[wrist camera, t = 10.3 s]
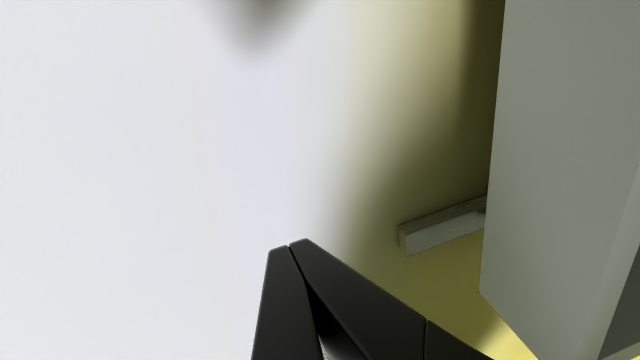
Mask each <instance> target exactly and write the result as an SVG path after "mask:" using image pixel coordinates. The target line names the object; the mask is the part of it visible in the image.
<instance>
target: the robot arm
mask: <svg viewBox="0 0 640 360" xmlns="http://www.w3.org/2000/svg"><path fill="white" fill-rule="evenodd" d="M320 342H321V344H322V346H323V348H324V351H325V353H326V355H327V357H328V358H329V360H494V359H492V358H490V357H488V356H486V355H485V354H483V353H481V352H479V351H478V350H476V349H474V348H472V347H470V346H469V345H467V344H466V343H464V342H462V341H461V340H459V339H458V338H456V337H454V336H453V335H451V334H450V333H448V332H446V331H445V330H443V329H442V328H440V327H439V326H437V325H436V324H435V323H433V322H432V321H430V320H427V321H426V318H425V317H424V316H422V315H421V314H419V313H418V312H416V311H415V310H413V309H412V308H410V307H409V306H407V305H406V304H404V303H403V302H401V301H400V300H398V299H397V298H395V297H394V296H392V295H391V294H390V293H388V292H387V291H385V290H384V289H382V288H381V287H379V286H378V285H376V284H375V283H373V282H372V281H370V280H369V279H367V278H366V277H364V276H363V275H361V274H360V273H358V272H357V271H355V270H354V269H352V268H351V267H349V266H348V265H346V264H345V263H343V262H342V261H340V260H339V259H337V258H336V257H334V256H333V255H331V254H330V253H328V252H327V251H325V250H324V249H322V248H321V247H319V246H318V245H316V244H315V243H313V242H312V241H310V240H309V239H306V238H305V239H301V240H298V241H295V242H292V243H290V244H289V247H288V246H287V245H284V246H281V247H278V248H275V249H272V250H270V251H269V253H268V259H267V265H266V271H265V277H264V283H263V289H262V295H261V301H260V307H259V314H258V320H257V326H256V332H255V338H254V344H253V350H252V356H251V360H324V357H323V353H322V348H321V344H320Z"/></svg>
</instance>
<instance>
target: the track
mask: <svg viewBox="0 0 640 360" xmlns="http://www.w3.org/2000/svg"><path fill="white" fill-rule="evenodd" d="M487 196H488V194H487V195H484V196H481V197H478V198H475V199H473V200H470V201H467V202H464V203H461V204H458V205H456V206H453V207H450V208H447V209H444V210H441V211H439V212H436V213H433V214H430V215H427V216H424V217H422V218H419V219H416V220H413V221H410V222H407V223H404V224H402V225H399V226H398V243H399V247H400V249H401V250H402V251H403V253H404V254H405V255H406V257H407V256H409V255H412V254H415V253H418V252H420V251H423V250H426V249H428V248H431V247H434V246H436V245H439V244H442V243H445V242H447V241H450V240H453V239H455V238H458V237H461V236H464V235H466V234H469V233H472V232H474V231H477V230H480V229H482V228H485V217H486V207H487Z"/></svg>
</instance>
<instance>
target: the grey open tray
mask: <svg viewBox="0 0 640 360" xmlns="http://www.w3.org/2000/svg"><path fill="white" fill-rule="evenodd" d="M479 293H480V294H481V295H482V297H483V298H484V299H485V300H486V301H487V302H488V303H489V304H490V306H491V307H492V308H493V309H494V310H495V311H496V312H497V313H498V315H499V316H500V317H501V318H502V319H503V320H504V321H505V322H506V324H507V325H508V326H509V327H510V328H511V329H512V330H513V331H514V333H515V334H516V335H517V336H518V337H519V338H520V339H521V340H522V342H523V343H524V344H525V345H526V346H527V347H528V348H529V349H530V351H531V352H532V353H533V354H534V355H535V356H536V357H537V358H538V360H631V359H633V358H635V357H637V356H639V355H640V0H506V2H505V12H504V23H503V34H502V45H501V55H500V66H499V77H498V88H497V99H496V109H495V120H494V131H493V142H492V153H491V163H490V174H489V185H488V196H487V207H486V217H485V228H484V239H483V250H482V261H481V271H480V282H479Z"/></svg>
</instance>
